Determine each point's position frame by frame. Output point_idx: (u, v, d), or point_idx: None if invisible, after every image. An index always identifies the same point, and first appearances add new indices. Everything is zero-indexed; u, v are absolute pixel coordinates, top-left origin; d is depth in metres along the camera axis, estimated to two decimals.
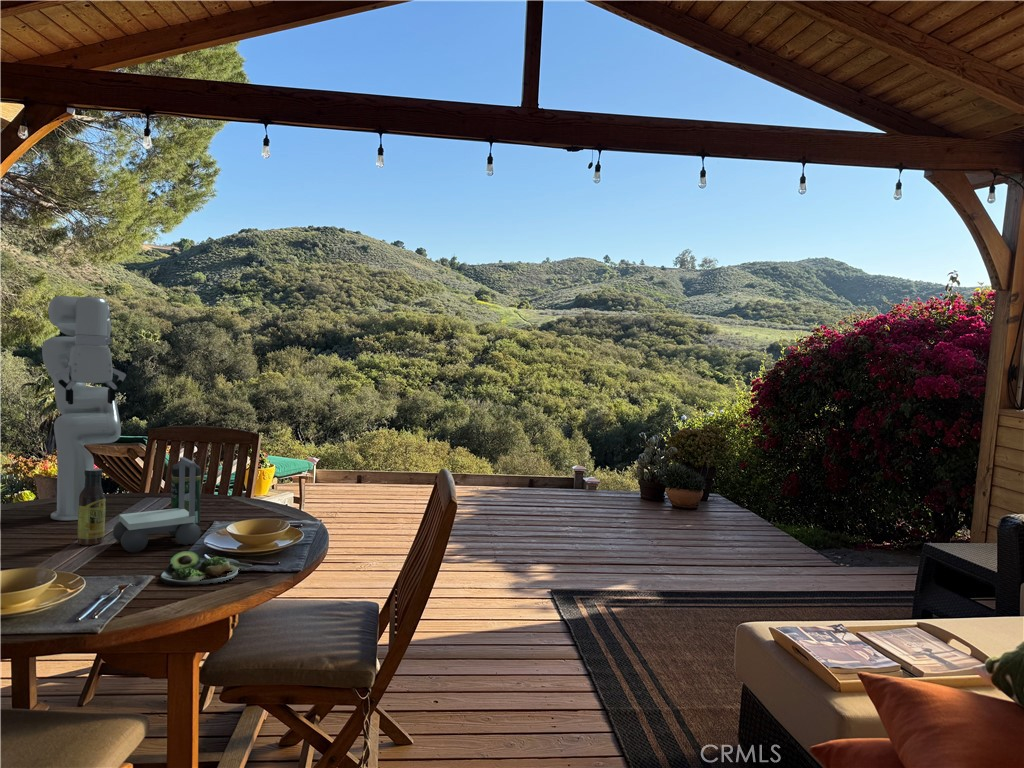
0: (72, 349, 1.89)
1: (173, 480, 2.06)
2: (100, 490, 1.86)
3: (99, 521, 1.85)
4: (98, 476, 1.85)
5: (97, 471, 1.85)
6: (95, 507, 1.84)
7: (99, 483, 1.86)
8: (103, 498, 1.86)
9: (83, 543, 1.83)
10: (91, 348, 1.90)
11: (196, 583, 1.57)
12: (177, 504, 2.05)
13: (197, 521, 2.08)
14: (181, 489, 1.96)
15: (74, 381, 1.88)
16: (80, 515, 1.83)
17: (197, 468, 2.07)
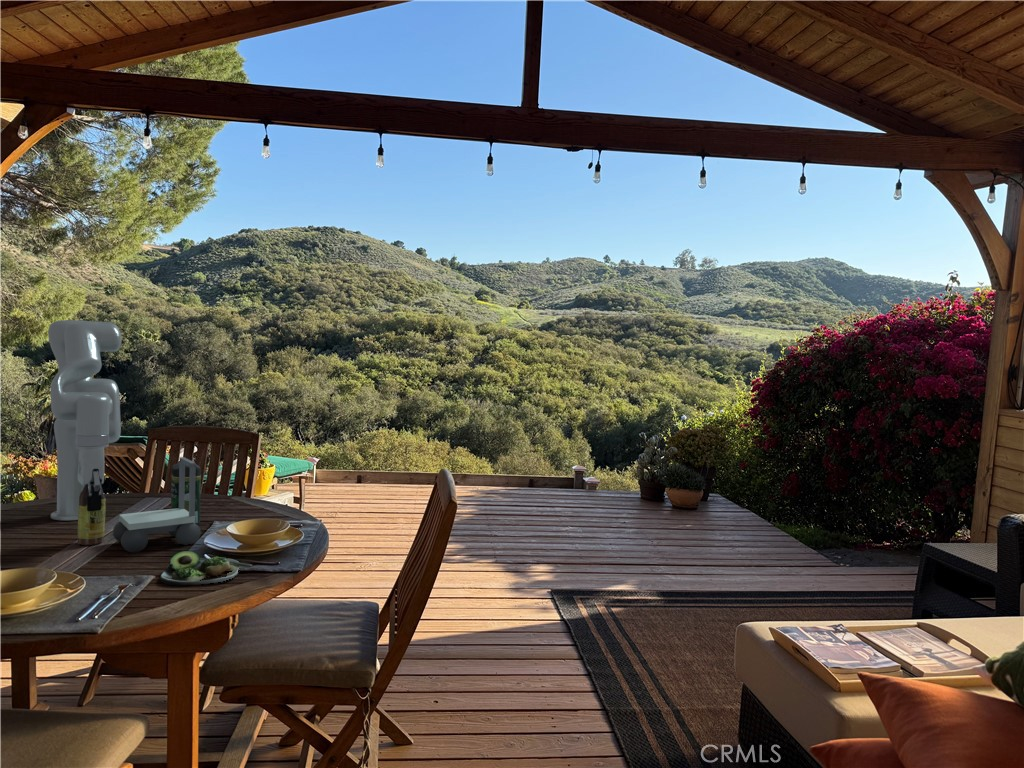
0: (96, 451, 1.82)
1: (173, 480, 2.06)
2: None
3: (99, 521, 1.85)
4: None
5: None
6: None
7: None
8: (103, 498, 1.86)
9: (83, 543, 1.83)
10: None
11: (196, 583, 1.57)
12: (177, 504, 2.05)
13: (197, 521, 2.08)
14: (181, 489, 1.96)
15: (102, 483, 1.83)
16: (80, 515, 1.83)
17: (197, 468, 2.07)
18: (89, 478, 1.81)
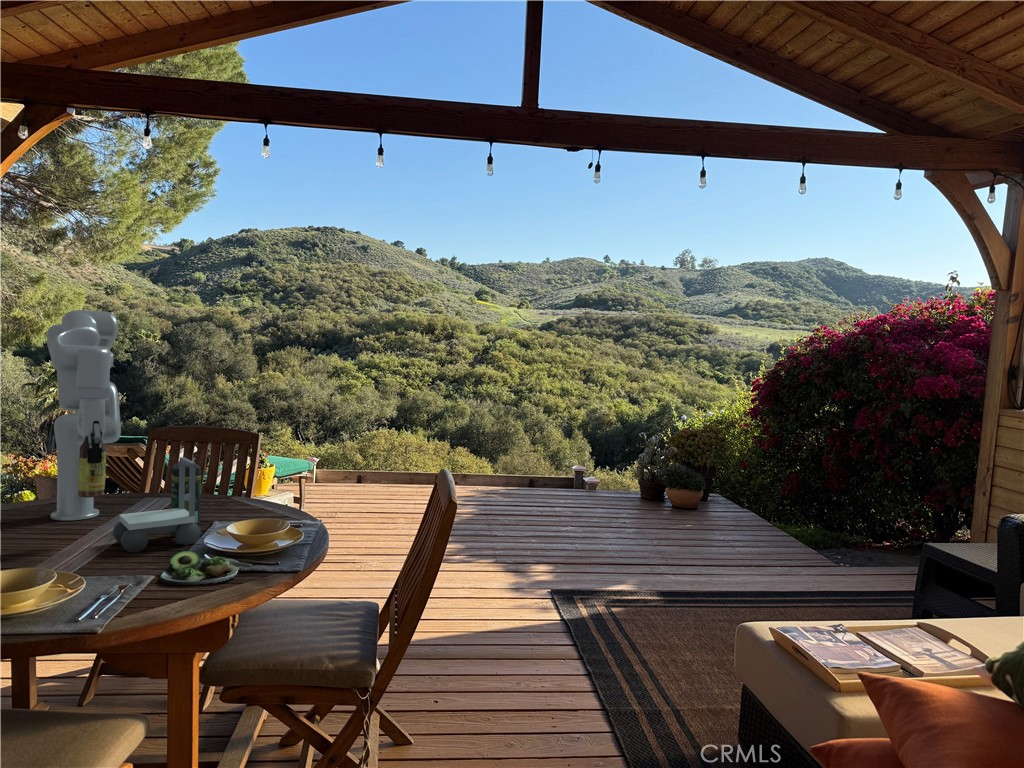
0: (97, 403, 1.81)
1: (173, 480, 2.06)
2: (101, 443, 1.85)
3: (99, 474, 1.85)
4: None
5: None
6: None
7: None
8: (103, 451, 1.86)
9: (83, 495, 1.83)
10: None
11: (196, 583, 1.57)
12: (177, 504, 2.05)
13: (197, 521, 2.08)
14: (181, 489, 1.96)
15: (102, 436, 1.83)
16: (80, 467, 1.83)
17: (197, 468, 2.07)
18: (89, 430, 1.80)
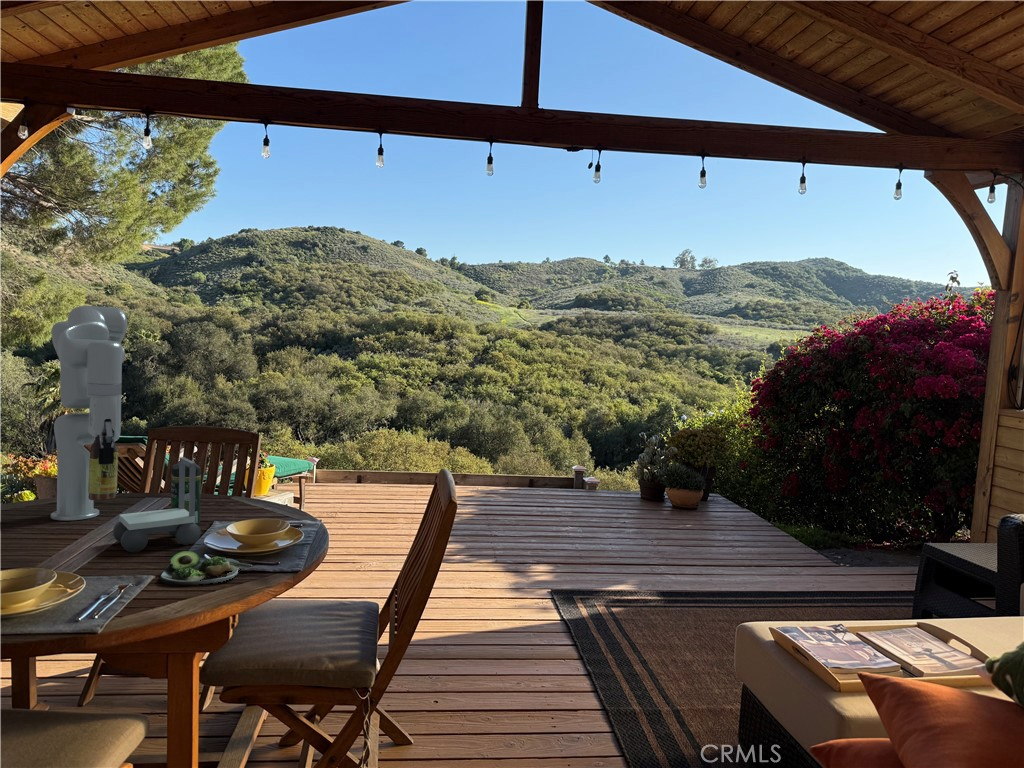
0: (109, 400, 1.71)
1: (173, 480, 2.06)
2: None
3: (111, 475, 1.74)
4: None
5: None
6: None
7: None
8: (115, 451, 1.75)
9: (94, 498, 1.72)
10: None
11: (196, 583, 1.57)
12: (177, 504, 2.05)
13: (197, 521, 2.08)
14: (181, 489, 1.96)
15: (114, 435, 1.72)
16: (91, 468, 1.72)
17: (197, 468, 2.07)
18: (101, 429, 1.69)
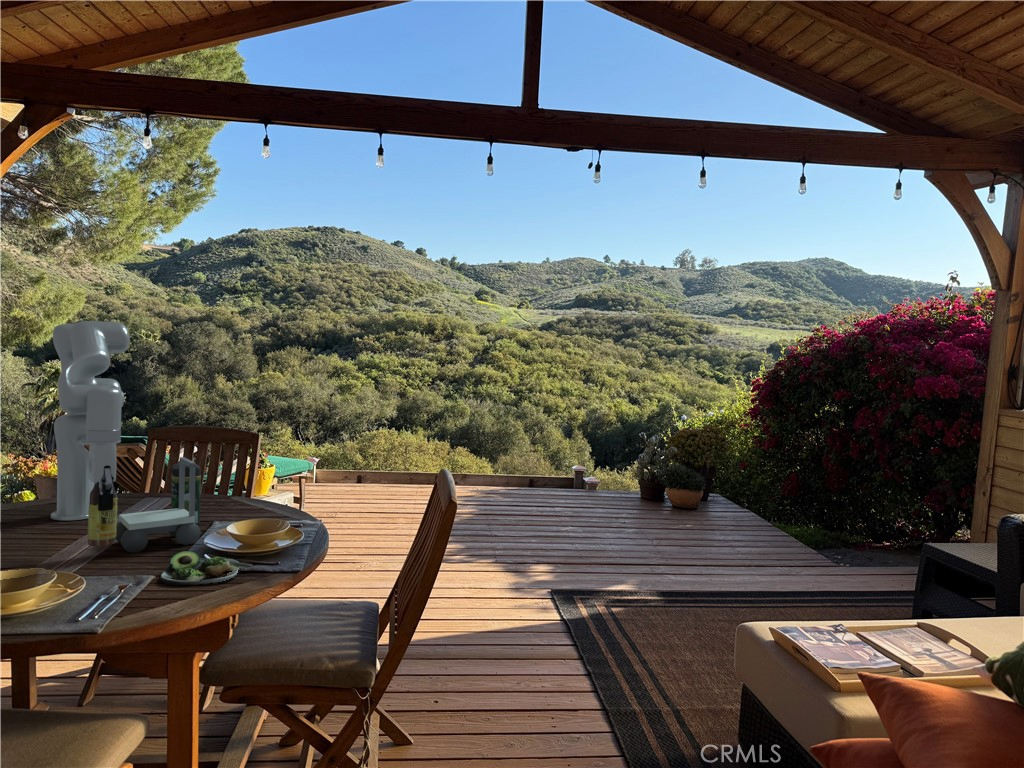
0: (108, 447, 1.71)
1: (173, 480, 2.06)
2: None
3: (111, 521, 1.74)
4: None
5: None
6: None
7: None
8: (115, 497, 1.75)
9: (94, 544, 1.72)
10: None
11: (196, 583, 1.57)
12: (177, 504, 2.05)
13: (197, 521, 2.08)
14: (181, 489, 1.96)
15: (113, 481, 1.73)
16: (91, 515, 1.72)
17: (197, 468, 2.07)
18: (100, 475, 1.70)
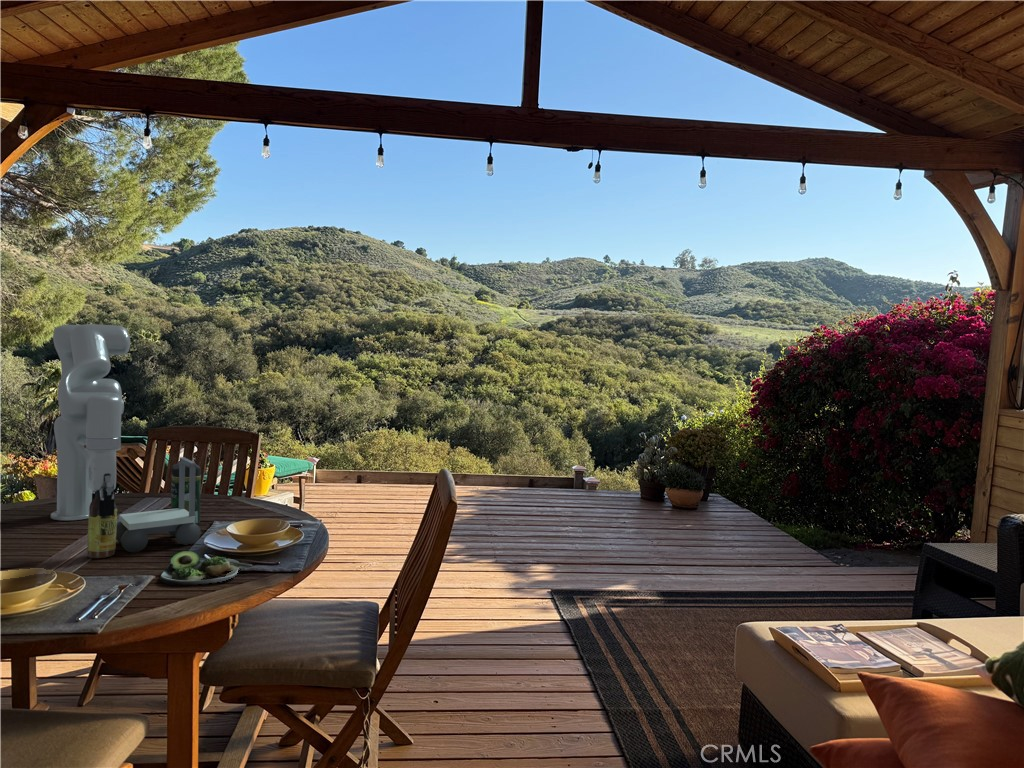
0: (108, 455, 1.71)
1: (173, 480, 2.06)
2: None
3: (110, 532, 1.74)
4: None
5: None
6: (106, 518, 1.73)
7: None
8: (114, 508, 1.75)
9: (93, 556, 1.73)
10: None
11: (196, 583, 1.57)
12: (177, 504, 2.05)
13: (197, 521, 2.08)
14: (181, 489, 1.96)
15: (113, 489, 1.73)
16: (90, 526, 1.73)
17: (197, 468, 2.07)
18: (100, 480, 1.70)
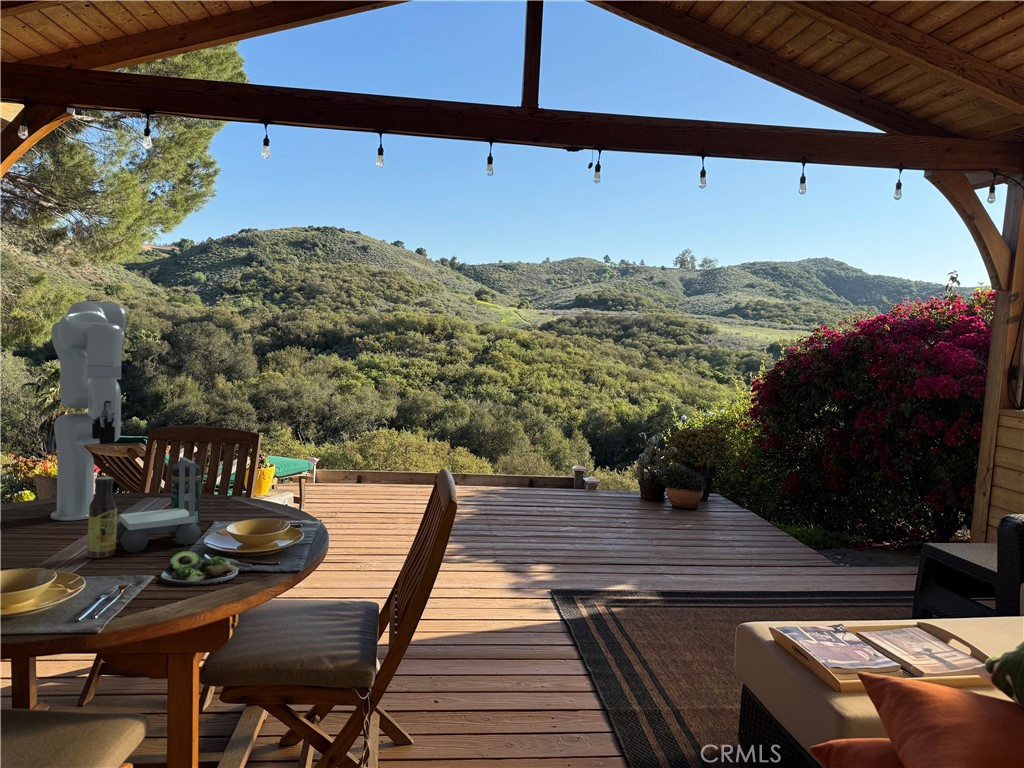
0: (108, 382, 1.70)
1: (173, 480, 2.06)
2: (111, 500, 1.75)
3: (110, 532, 1.74)
4: (109, 485, 1.75)
5: (108, 479, 1.74)
6: (106, 518, 1.73)
7: (110, 492, 1.75)
8: (114, 508, 1.75)
9: (93, 556, 1.73)
10: None
11: (196, 583, 1.57)
12: (177, 504, 2.05)
13: (197, 521, 2.08)
14: (181, 489, 1.96)
15: (114, 417, 1.72)
16: (90, 526, 1.73)
17: (197, 468, 2.07)
18: (101, 407, 1.69)
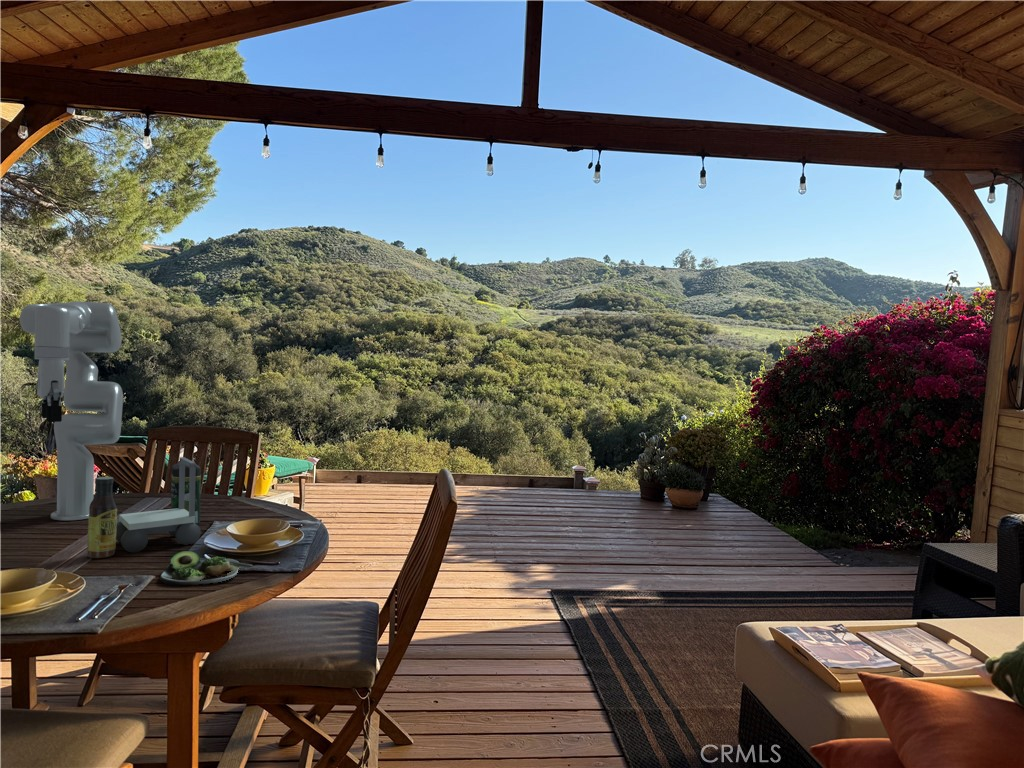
0: (55, 363, 1.76)
1: (173, 480, 2.06)
2: (111, 500, 1.75)
3: (110, 532, 1.74)
4: (109, 485, 1.75)
5: (108, 479, 1.74)
6: (106, 518, 1.73)
7: (110, 492, 1.75)
8: (114, 508, 1.75)
9: (93, 556, 1.73)
10: None
11: (196, 583, 1.57)
12: (177, 504, 2.05)
13: (197, 521, 2.08)
14: (181, 489, 1.96)
15: (61, 396, 1.78)
16: (90, 526, 1.73)
17: (197, 468, 2.07)
18: (48, 386, 1.75)
